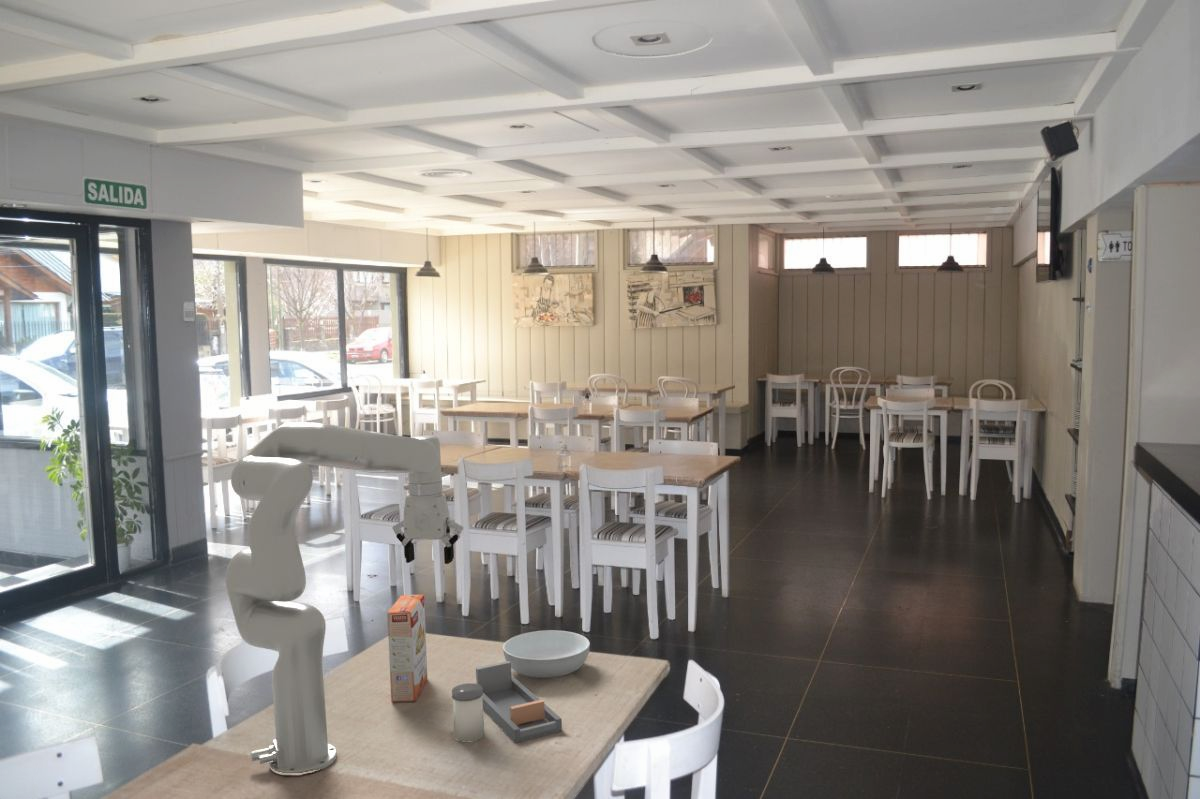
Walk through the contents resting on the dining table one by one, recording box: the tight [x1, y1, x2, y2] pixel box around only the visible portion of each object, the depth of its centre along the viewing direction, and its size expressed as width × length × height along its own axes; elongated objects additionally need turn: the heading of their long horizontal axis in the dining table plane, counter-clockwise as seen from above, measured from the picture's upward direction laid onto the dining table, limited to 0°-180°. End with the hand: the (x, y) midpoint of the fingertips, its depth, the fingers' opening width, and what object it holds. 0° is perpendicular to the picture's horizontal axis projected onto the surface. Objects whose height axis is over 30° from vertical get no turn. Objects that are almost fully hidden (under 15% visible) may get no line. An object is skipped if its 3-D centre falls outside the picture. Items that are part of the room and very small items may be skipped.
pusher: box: [510, 699, 545, 725], centre depth 197 cm, size 7×5×4 cm
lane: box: [475, 660, 563, 743], centre depth 202 cm, size 10×26×7 cm, turn 27°
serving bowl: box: [502, 629, 591, 679], centre depth 226 cm, size 21×21×7 cm
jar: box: [451, 682, 485, 743], centre depth 192 cm, size 6×6×10 cm
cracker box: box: [386, 594, 428, 703], centre depth 216 cm, size 14×6×21 cm, turn 179°
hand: (429, 561), depth 218 cm, fingers open, 9 cm apart
